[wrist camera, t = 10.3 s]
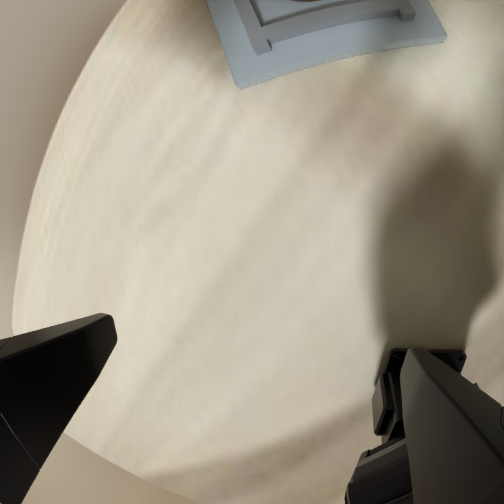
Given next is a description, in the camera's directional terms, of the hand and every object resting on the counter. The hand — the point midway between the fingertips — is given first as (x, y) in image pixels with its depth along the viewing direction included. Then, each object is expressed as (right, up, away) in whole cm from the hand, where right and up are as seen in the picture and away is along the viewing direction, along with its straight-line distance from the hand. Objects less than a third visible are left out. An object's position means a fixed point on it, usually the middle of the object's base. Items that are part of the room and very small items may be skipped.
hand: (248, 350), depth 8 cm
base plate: (+4, +23, +7) cm, 24 cm away
